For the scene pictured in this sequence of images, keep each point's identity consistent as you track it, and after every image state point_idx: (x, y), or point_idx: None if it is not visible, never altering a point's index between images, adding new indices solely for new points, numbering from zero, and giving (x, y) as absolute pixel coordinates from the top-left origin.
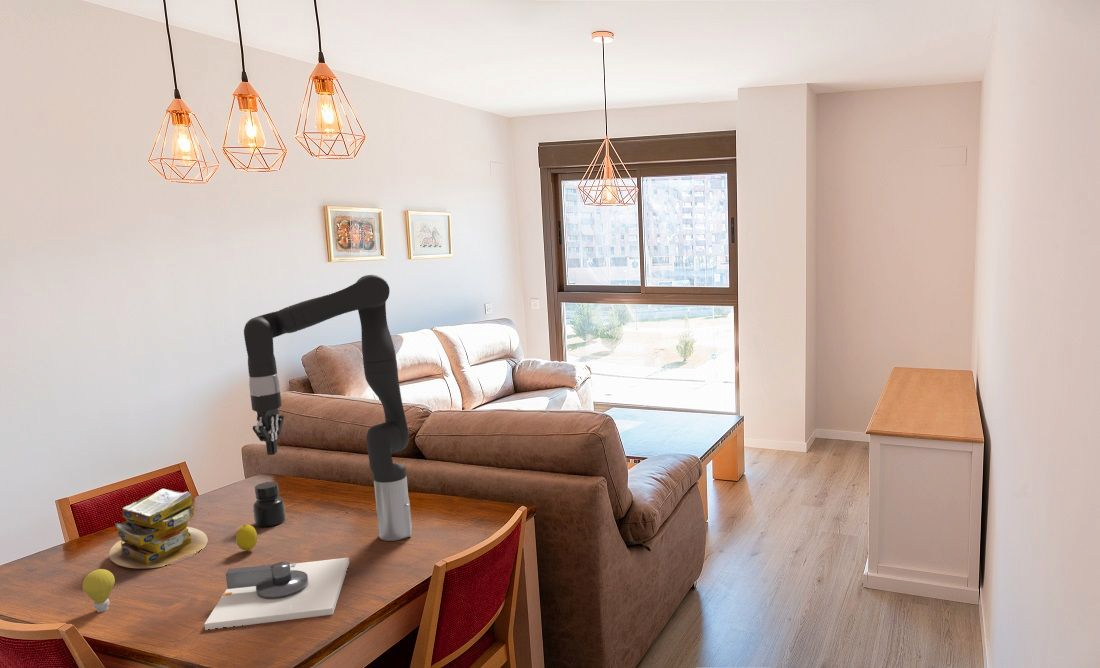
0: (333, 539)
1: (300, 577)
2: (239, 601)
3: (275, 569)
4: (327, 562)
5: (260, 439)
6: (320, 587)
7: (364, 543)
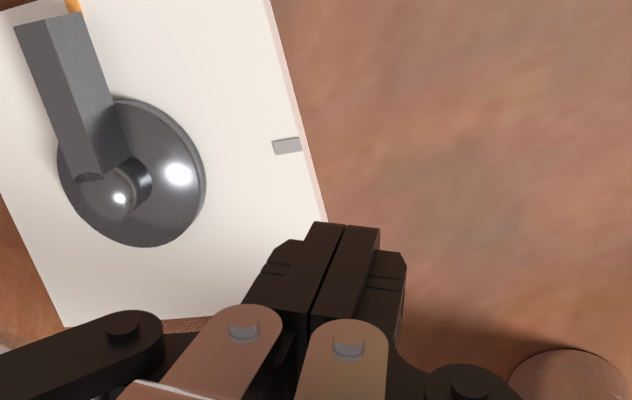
0: (572, 191)
1: (155, 226)
2: None
3: (70, 196)
4: None
5: (80, 338)
6: (151, 275)
7: (505, 310)
